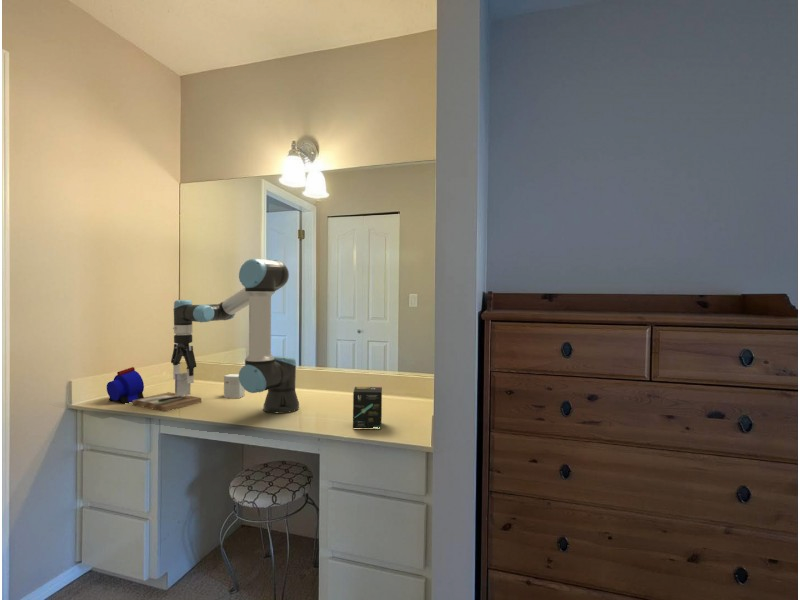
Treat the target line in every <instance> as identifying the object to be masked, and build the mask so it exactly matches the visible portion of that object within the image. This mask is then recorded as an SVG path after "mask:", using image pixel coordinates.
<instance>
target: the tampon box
mask: <svg viewBox="0 0 800 600" xmlns="http://www.w3.org/2000/svg"><path fill="white" fill-rule="evenodd" d="M382 393H383V388H382V386H355V387H354V389H353V395H352V396H353V398H352V399H353V401H352V403H353V404H352V429H353V428H373V427H378V428H379V427H381V428H382V415H383V412H382V410H383V408H382V405H383V395H382Z"/></svg>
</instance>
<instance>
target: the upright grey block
mask: <svg viewBox="0 0 800 600" xmlns="http://www.w3.org/2000/svg"><path fill="white" fill-rule="evenodd" d="M191 384H192V383H188V384H187V371H186V372H180V373H177V374H175V380H174V393H175V396H176V397H170V398H163V399H159V401H164V400H170V399H176V398H184V397H186V395H188V396H191Z"/></svg>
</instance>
